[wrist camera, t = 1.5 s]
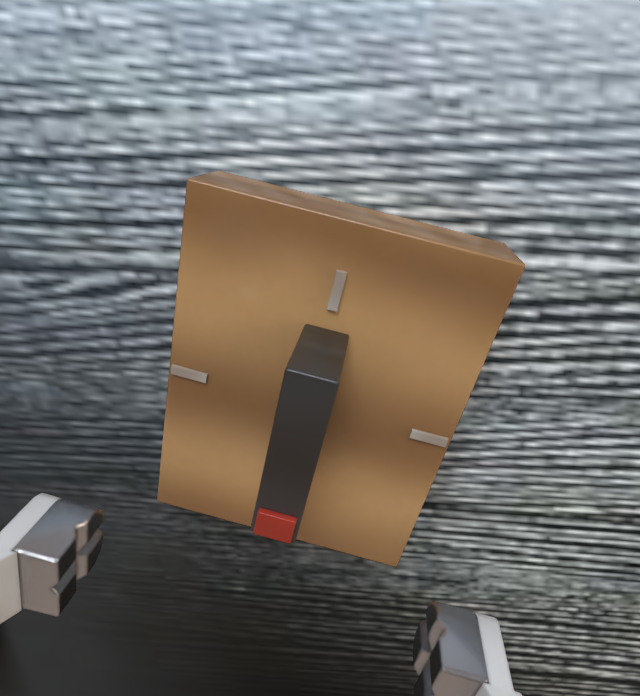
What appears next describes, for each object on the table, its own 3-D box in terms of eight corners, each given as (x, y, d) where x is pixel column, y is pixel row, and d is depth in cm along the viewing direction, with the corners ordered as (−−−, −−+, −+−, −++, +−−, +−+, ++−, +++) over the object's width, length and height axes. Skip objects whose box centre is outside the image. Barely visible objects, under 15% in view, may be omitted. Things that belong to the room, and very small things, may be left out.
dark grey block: (305, 322, 17) (283, 371, 13) (350, 333, 16) (339, 387, 13) (272, 465, 19) (247, 536, 16) (310, 475, 19) (293, 549, 16)
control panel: (217, 169, 18) (184, 177, 15) (506, 243, 17) (528, 266, 15) (182, 459, 24) (154, 504, 21) (396, 517, 24) (396, 571, 21)
